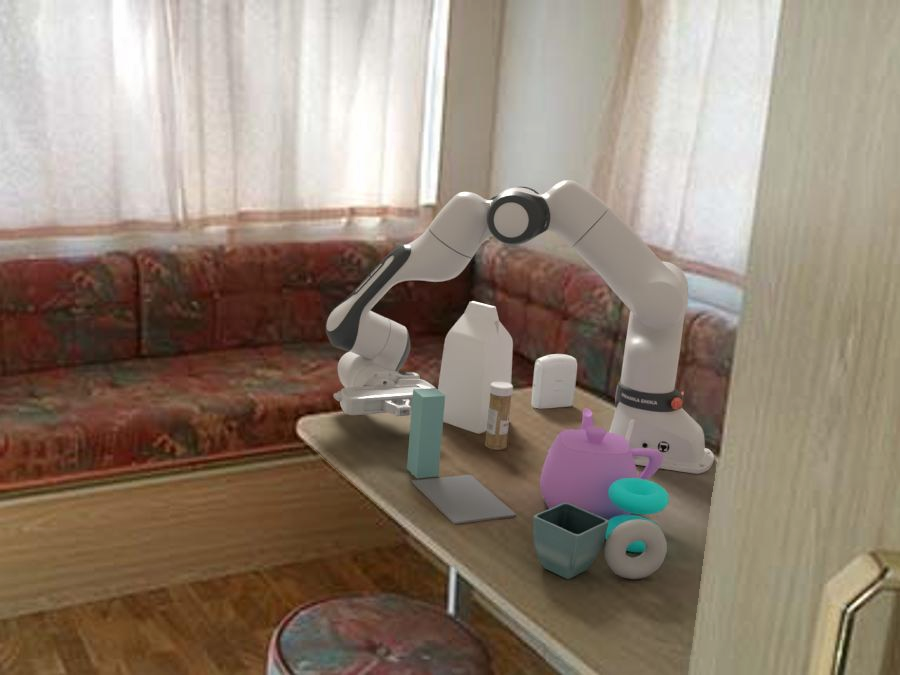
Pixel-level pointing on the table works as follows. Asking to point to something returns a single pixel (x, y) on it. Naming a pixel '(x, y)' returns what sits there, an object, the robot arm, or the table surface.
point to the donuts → (635, 503)
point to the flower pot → (568, 539)
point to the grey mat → (463, 499)
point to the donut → (628, 535)
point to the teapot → (591, 468)
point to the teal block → (425, 432)
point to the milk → (474, 366)
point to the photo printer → (554, 381)
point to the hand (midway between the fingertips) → (404, 412)
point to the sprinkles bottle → (498, 415)
